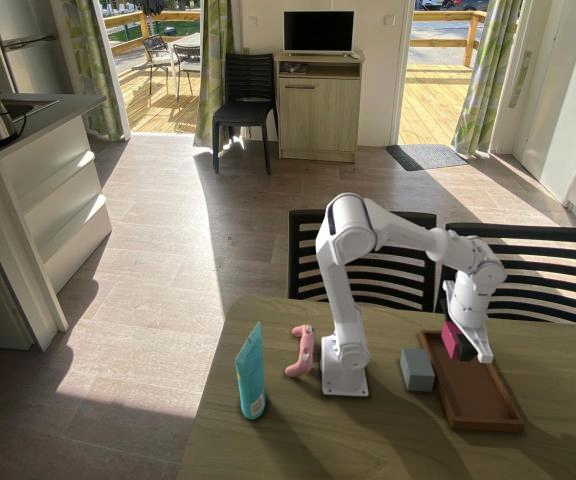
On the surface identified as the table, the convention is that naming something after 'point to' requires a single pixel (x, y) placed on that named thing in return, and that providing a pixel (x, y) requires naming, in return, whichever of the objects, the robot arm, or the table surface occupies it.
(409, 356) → the grey block
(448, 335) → the plum block
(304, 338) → the video game controller
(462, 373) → the tray
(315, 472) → the table surface
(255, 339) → the tube
